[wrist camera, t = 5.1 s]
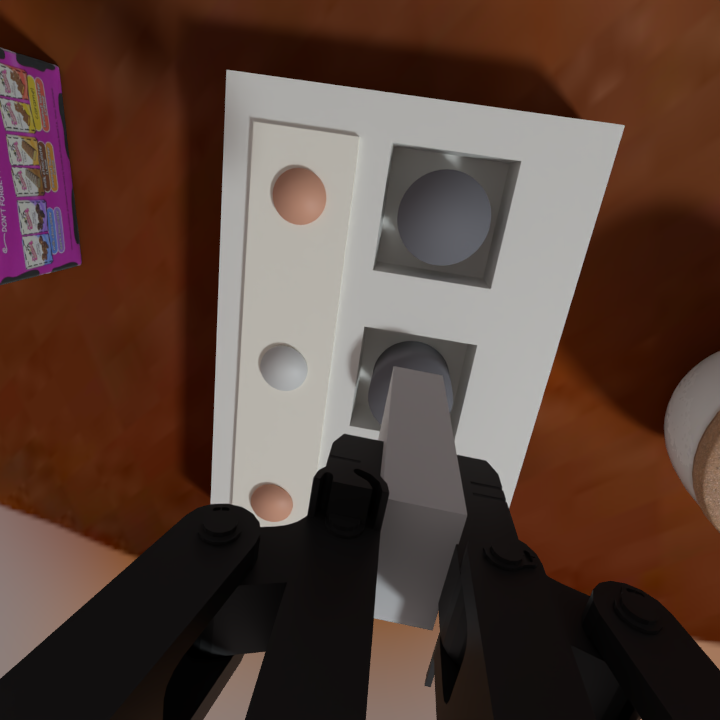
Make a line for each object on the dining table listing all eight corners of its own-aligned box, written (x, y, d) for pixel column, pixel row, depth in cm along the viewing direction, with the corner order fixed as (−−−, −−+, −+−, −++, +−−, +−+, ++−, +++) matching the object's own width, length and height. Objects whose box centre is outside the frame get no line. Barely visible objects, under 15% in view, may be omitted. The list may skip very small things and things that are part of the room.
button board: (593, 134, 25) (629, 124, 21) (473, 558, 35) (481, 609, 31) (253, 86, 26) (222, 67, 22) (230, 512, 36) (205, 555, 32)
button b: (456, 347, 27) (461, 366, 24) (441, 417, 29) (443, 443, 26) (378, 334, 27) (374, 352, 24) (367, 404, 29) (362, 428, 26)
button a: (491, 177, 25) (501, 176, 22) (472, 262, 26) (479, 272, 24) (407, 165, 25) (405, 162, 22) (393, 250, 27) (390, 258, 24)
